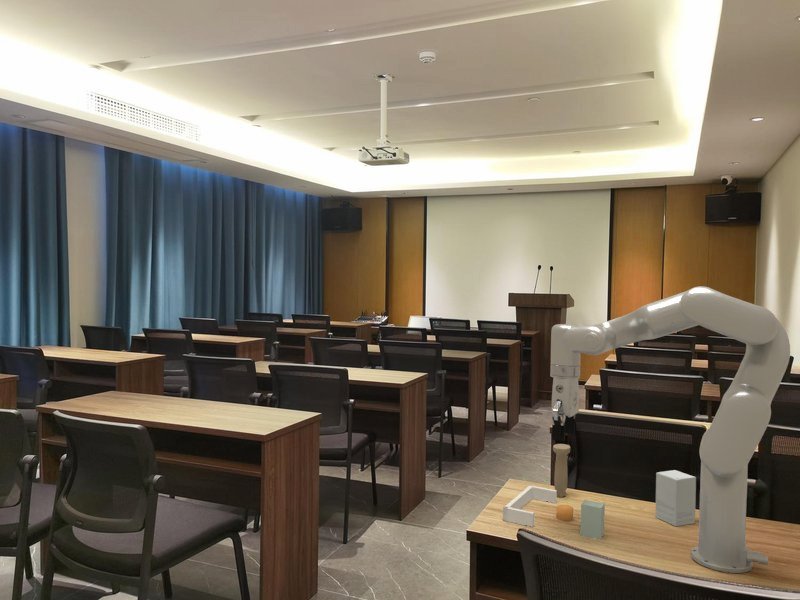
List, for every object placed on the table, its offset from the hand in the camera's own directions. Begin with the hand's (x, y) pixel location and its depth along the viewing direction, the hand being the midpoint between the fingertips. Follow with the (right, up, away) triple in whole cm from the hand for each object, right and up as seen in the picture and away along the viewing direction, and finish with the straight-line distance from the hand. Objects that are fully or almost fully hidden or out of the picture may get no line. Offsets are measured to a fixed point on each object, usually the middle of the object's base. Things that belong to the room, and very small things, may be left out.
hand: (563, 436), depth 157 cm
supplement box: (+32, -25, +7) cm, 41 cm away
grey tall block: (+6, -24, -4) cm, 25 cm away
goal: (-6, -24, +12) cm, 27 cm away
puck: (+2, -24, +7) cm, 25 cm away
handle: (+6, -24, +25) cm, 35 cm away
